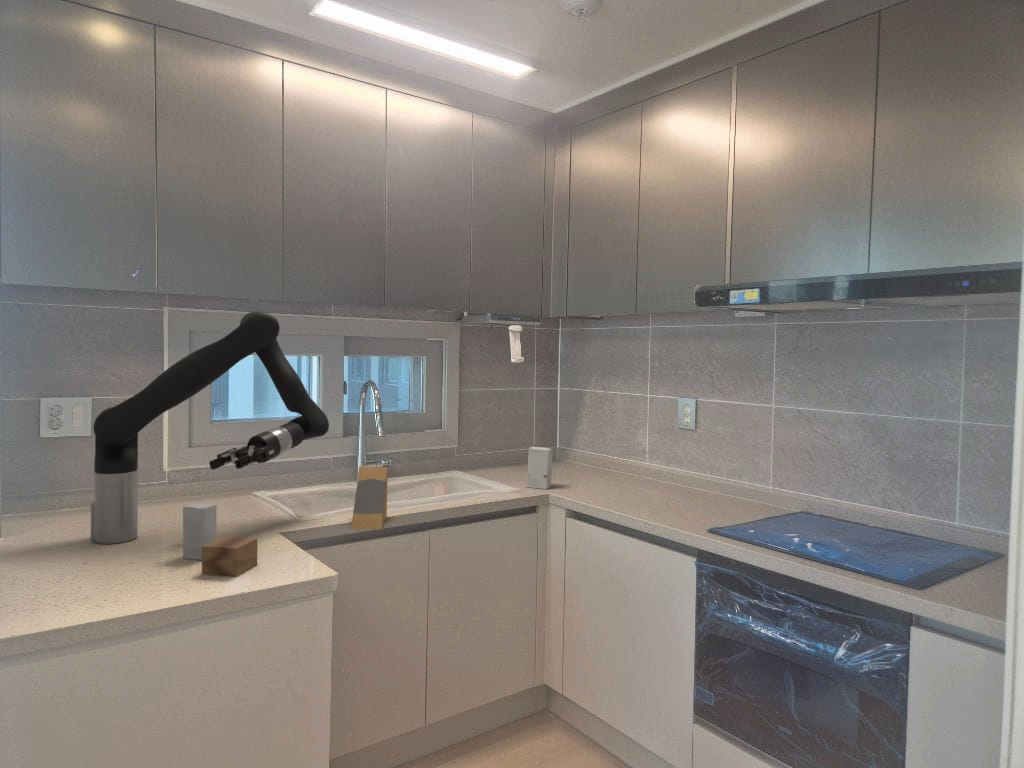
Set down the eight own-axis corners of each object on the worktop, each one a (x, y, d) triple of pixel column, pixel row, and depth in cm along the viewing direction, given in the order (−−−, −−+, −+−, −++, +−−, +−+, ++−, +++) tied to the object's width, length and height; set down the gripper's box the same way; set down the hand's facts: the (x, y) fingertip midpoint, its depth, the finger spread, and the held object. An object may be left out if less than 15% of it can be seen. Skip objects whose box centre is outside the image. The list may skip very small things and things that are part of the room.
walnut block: (201, 574, 136) (201, 546, 135) (224, 562, 144) (224, 536, 143) (236, 576, 134) (236, 548, 134) (257, 565, 142) (257, 538, 142)
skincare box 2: (526, 487, 238) (526, 448, 238) (531, 485, 244) (532, 446, 243) (547, 489, 235) (548, 449, 235) (552, 486, 241) (553, 447, 241)
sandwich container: (349, 530, 174) (350, 475, 174) (357, 517, 189) (358, 466, 189) (381, 530, 175) (382, 475, 174) (387, 516, 190) (388, 466, 190)
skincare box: (217, 555, 149) (217, 504, 149) (203, 560, 145) (204, 508, 144) (195, 553, 151) (195, 502, 150) (181, 558, 146) (181, 506, 146)
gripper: (247, 432, 174) (198, 451, 159) (287, 429, 168) (241, 449, 153) (253, 458, 175) (206, 480, 161) (294, 456, 169) (249, 479, 155)
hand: (223, 465), depth 157 cm, fingers open, 8 cm apart
